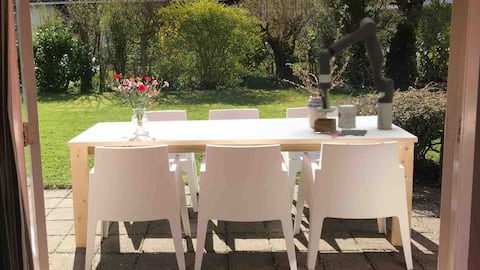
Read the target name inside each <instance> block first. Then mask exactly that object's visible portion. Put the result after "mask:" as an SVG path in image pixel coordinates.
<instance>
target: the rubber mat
mask: <svg viewBox="0 0 480 270" xmlns="http://www.w3.org/2000/svg"><path fill="white" fill-rule="evenodd" d="M340 132H341V134H342V135H341V136H345V135H363V136H362V137H365V136H366V134H367V132H368V130H367V129H344V128H341V130H340ZM364 135H365V136H364Z"/></svg>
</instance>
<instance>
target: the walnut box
mask: <svg viewBox="0 0 480 270" xmlns="http://www.w3.org/2000/svg"><path fill="white" fill-rule="evenodd" d="M313 126H314V127H313V128H314V129H313V130H314V132H330V133H333V132H334V131H335V130H336V131H337V118H332V117H331V118H327V117H325V118H323V117H322V118H321V117H317V118H316V119H315V120H314V124H313ZM336 131H335V132H336ZM335 132H334V133H335ZM334 133H333V134H334Z"/></svg>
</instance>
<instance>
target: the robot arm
mask: <svg viewBox="0 0 480 270" xmlns="http://www.w3.org/2000/svg"><path fill="white" fill-rule="evenodd" d="M377 29H378V28H377V24H376V21H374V19H373V18H371V17H364V18H363V19H361V20H360V24H359V28H358V29H357V30H355V31H354V32H353V33H350V34H348V35H345V36H342V37H341V38H339V39H338V40H336V41H335V42H333V43H332V44H331V45H330V46H328V47H326V48H325V49H323V50H320V51H319V54H318V64H319V65H318V66H319V77H318V87H319V89H320V90H322V91H321V95H320V96H321V103H322V102H323V109H326V108H327V101H329V95H330V92H329V90H331V89H332V76H331V64H330V61H331V59H332V58H333V57H335V56H337V55H338V54H340V53H341V52H343V51H345V50H346V49H347V48H348V47H351V46H353V44H355V43H357V42H359V41H361V40H363V39H364V40H365V46H366V47H365V48H366V52H367V57H368V60H369V64H370V68H371V71H372V75H373V82H374V88H375V89H376V91H377V92H378V93H379V92H380V93H383V94H384V95H383V96H381V97H378V98H377V121H376V123H377V126H376V127H377V129H378V130H392V128H393V99H394V92H395V91H394V89H395V82H394V80H393V78H391V77H390V78H389V77H383V76H382V68H383V66H384V63H385V56H384V51H383V49H382V46H381V44H380V42H379V39H378V36H377Z"/></svg>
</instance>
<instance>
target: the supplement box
mask: <svg viewBox="0 0 480 270" xmlns="http://www.w3.org/2000/svg"><path fill="white" fill-rule="evenodd" d="M356 111H357V106H356V105H352V104H338V106H337V127H338V126H339V128H341V127H342V128H341V129H344V128H345V129H355V128H356V127H357V126H356V118H357V117H356V116H357V115H356Z"/></svg>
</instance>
